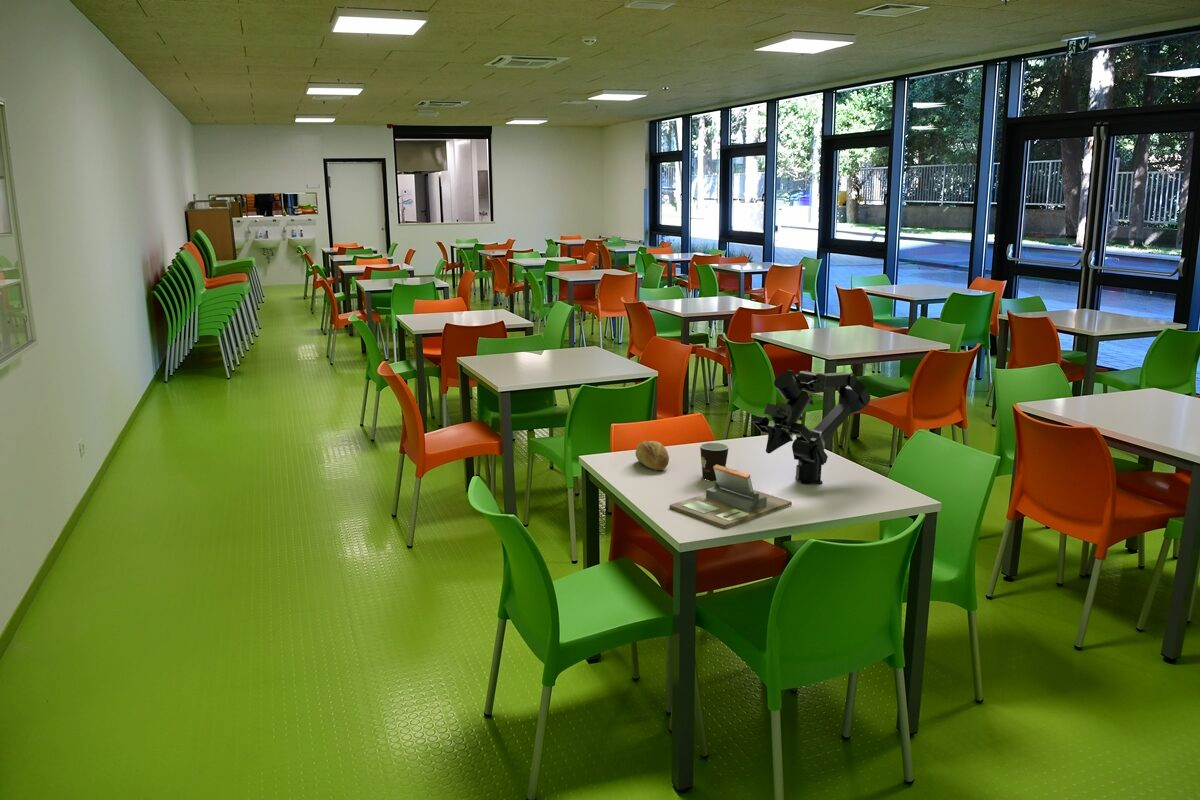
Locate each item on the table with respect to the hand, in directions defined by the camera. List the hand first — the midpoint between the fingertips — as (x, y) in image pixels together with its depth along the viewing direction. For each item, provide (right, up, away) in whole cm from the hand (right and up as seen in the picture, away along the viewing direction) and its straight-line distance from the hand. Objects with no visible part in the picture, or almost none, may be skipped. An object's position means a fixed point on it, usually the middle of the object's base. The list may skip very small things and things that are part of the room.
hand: (767, 452), depth 248 cm
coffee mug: (-13, -9, +19) cm, 24 cm away
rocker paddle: (-10, -10, -7) cm, 16 cm away
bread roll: (-31, -6, +29) cm, 43 cm away
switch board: (-12, -14, -8) cm, 20 cm away
